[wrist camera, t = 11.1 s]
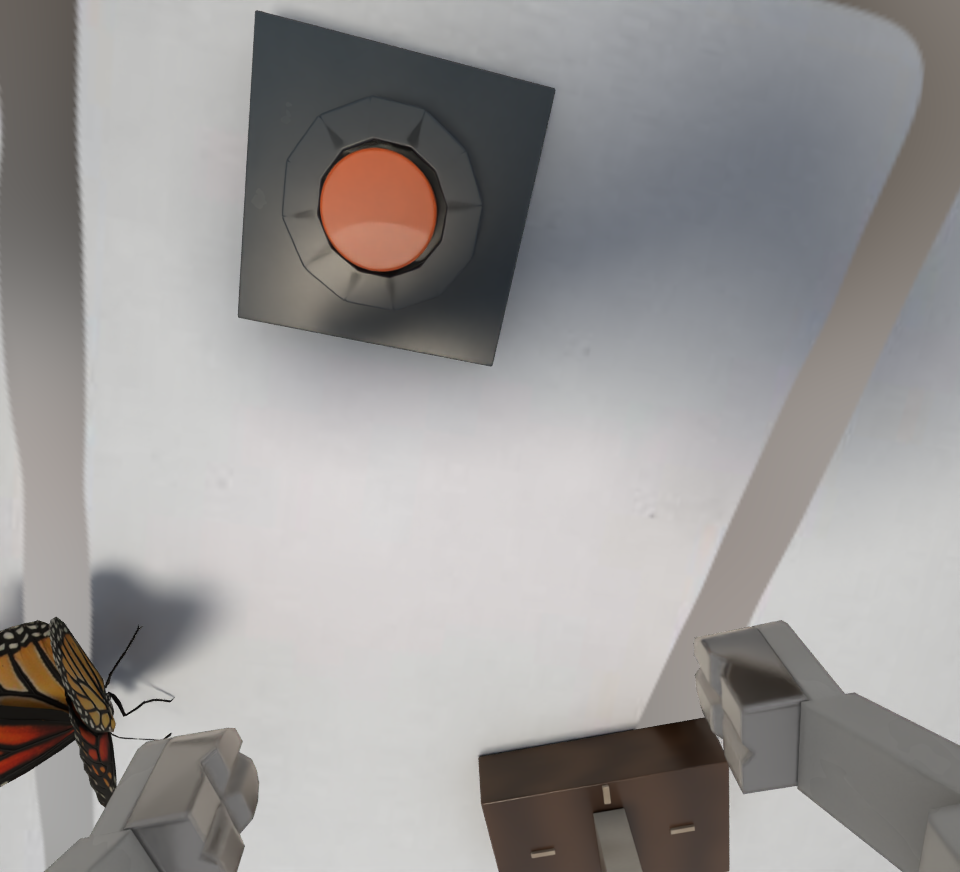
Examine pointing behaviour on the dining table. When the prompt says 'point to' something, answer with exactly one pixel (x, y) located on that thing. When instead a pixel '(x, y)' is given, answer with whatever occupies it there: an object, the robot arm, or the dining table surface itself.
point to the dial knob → (615, 842)
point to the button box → (419, 137)
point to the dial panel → (611, 800)
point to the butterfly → (55, 704)
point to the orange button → (378, 209)
